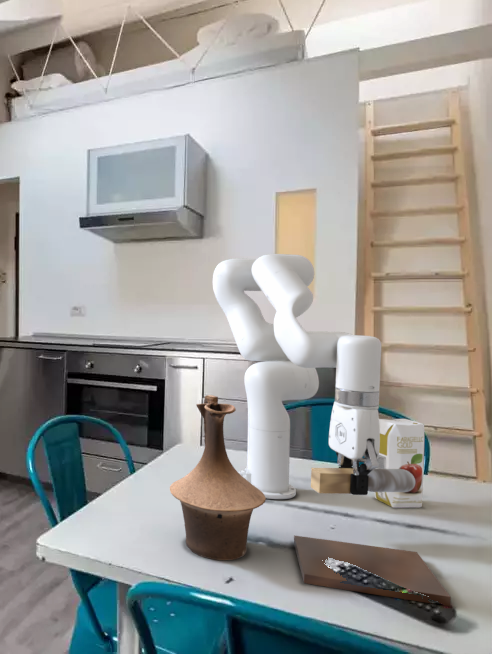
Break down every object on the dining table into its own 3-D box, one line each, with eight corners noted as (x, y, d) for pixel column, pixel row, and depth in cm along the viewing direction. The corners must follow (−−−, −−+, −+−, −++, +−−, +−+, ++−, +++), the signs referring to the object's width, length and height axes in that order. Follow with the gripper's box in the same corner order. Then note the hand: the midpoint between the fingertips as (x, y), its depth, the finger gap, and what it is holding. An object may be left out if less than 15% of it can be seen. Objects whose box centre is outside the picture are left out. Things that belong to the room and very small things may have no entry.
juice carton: (369, 497, 128) (371, 417, 128) (403, 496, 129) (405, 417, 129) (392, 509, 121) (394, 424, 120) (428, 508, 122) (430, 424, 121)
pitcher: (160, 526, 110) (162, 389, 109) (245, 528, 109) (248, 390, 109) (179, 568, 92) (181, 404, 92) (280, 570, 92) (283, 406, 91)
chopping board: (303, 583, 88) (304, 574, 88) (293, 543, 103) (293, 535, 103) (450, 606, 81) (451, 596, 81) (416, 560, 96) (417, 551, 96)
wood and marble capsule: (320, 494, 105) (321, 472, 105) (309, 486, 109) (310, 464, 109) (420, 495, 105) (421, 473, 105) (404, 487, 110) (406, 466, 109)
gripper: (316, 390, 115) (312, 476, 115) (362, 407, 98) (358, 506, 99) (351, 391, 115) (347, 476, 116) (403, 407, 98) (399, 507, 99)
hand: (352, 489), depth 107 cm, fingers closed on wood and marble capsule, 3 cm apart
